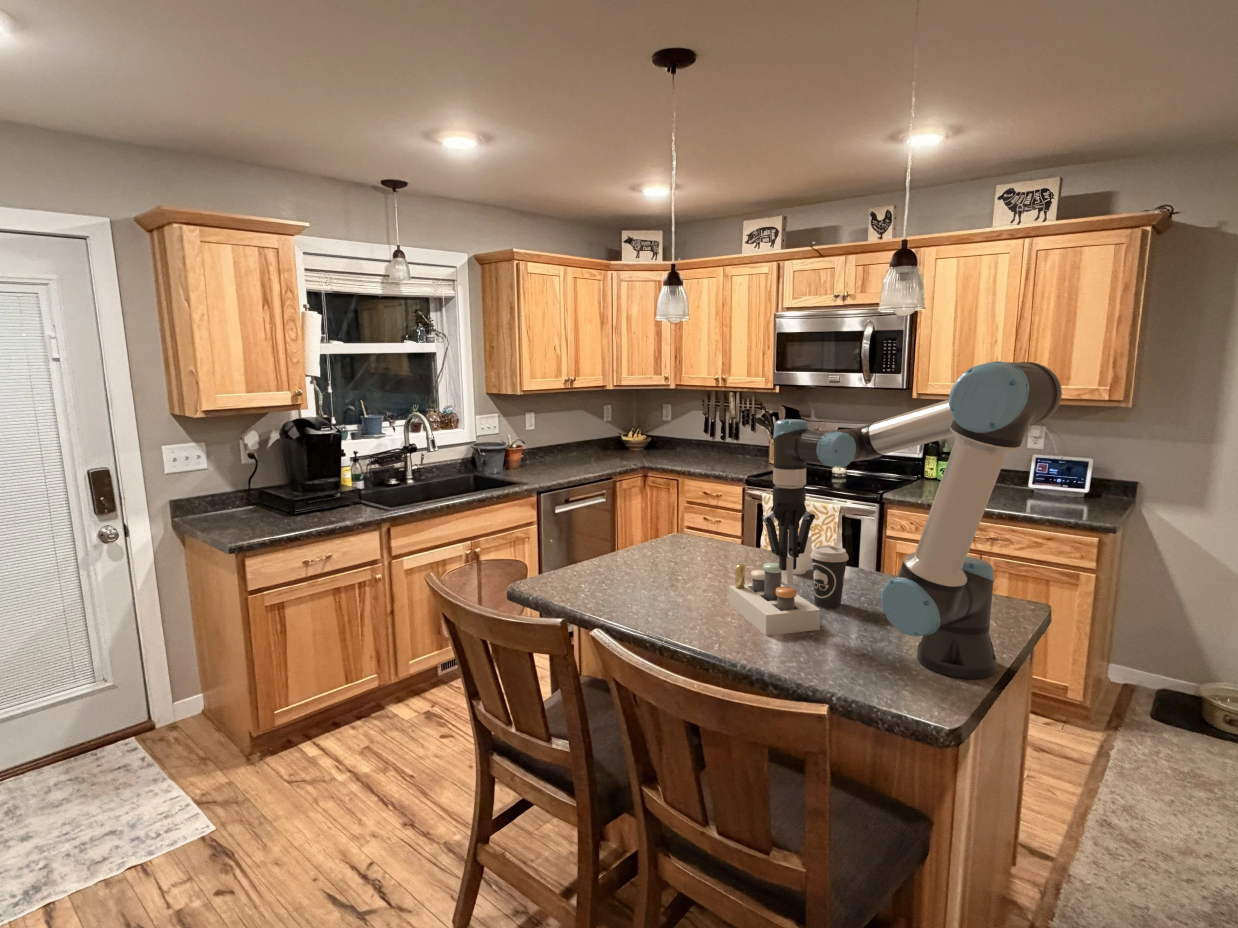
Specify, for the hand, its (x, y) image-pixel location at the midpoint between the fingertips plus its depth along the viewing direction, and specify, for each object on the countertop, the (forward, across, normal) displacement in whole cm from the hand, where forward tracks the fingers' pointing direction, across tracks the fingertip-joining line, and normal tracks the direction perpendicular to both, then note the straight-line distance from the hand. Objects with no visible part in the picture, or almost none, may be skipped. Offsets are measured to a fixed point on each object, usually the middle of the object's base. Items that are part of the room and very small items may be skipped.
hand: (787, 582), depth 165 cm
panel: (+11, 0, -7) cm, 13 cm away
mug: (+11, -25, -40) cm, 49 cm away
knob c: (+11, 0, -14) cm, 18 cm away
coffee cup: (+11, -18, -11) cm, 24 cm away
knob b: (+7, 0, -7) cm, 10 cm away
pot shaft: (+6, +5, -16) cm, 18 cm away
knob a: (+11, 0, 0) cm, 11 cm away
